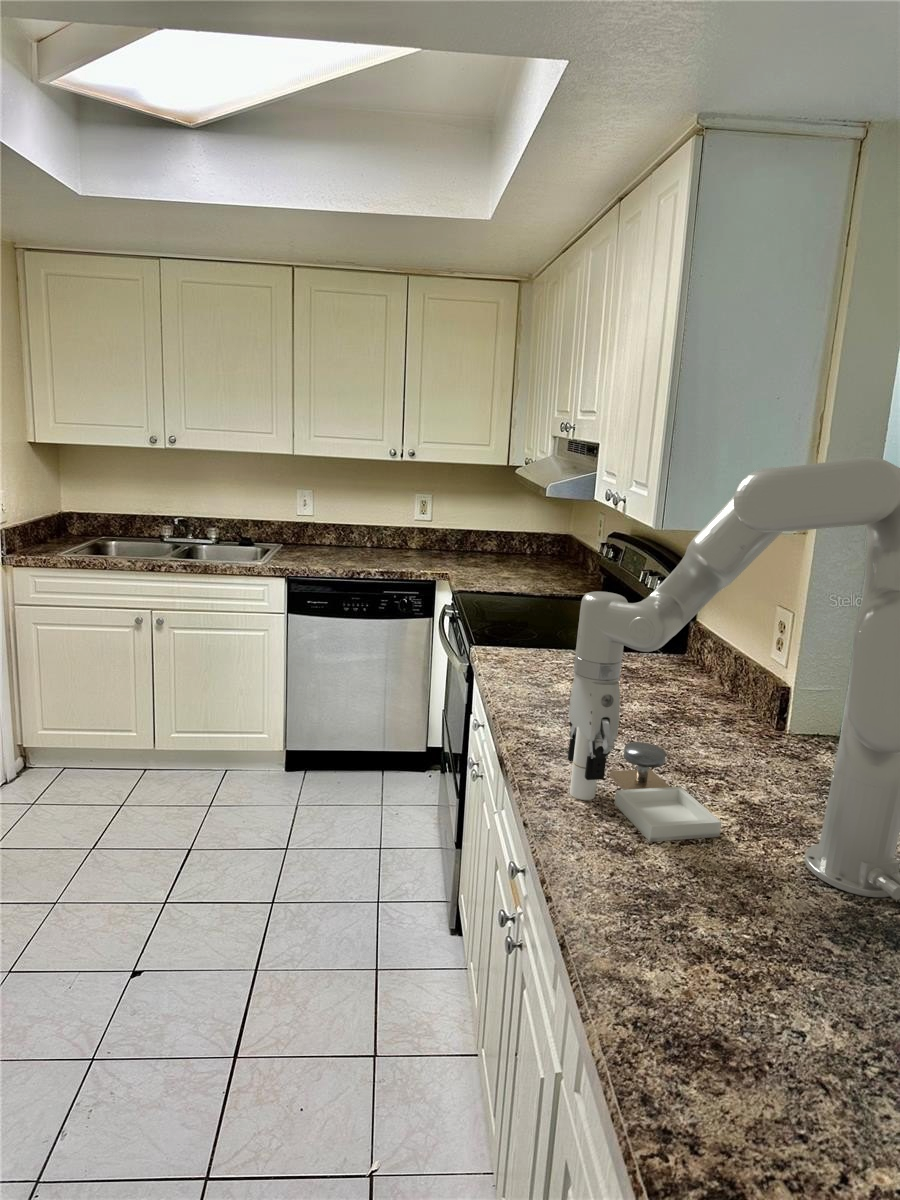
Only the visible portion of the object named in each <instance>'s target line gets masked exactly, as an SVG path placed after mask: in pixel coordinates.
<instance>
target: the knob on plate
mask: <svg viewBox="0 0 900 1200" xmlns="http://www.w3.org/2000/svg"><path fill="white" fill-rule="evenodd" d="M666 756H667V752H666V751H665V750H664V749H663V748H662V747H660V746H658V745H655V744H651V743H648V742H641V741H640V742H638V741H636V742H633V741H632V742H629V743H627V744H625V746H624V751H623V758H624V759H625V760H626V761H627V762H629V763H631V764H632V765H635V766H636V769H626V770H625V769H624V770H622V769H621V770H610V773H609V777H610V778H611V779H612V780H613V781H614V782H615V784H617V785H618V786H619V787H620V788H621V790H628V789H647V788H665V787H671V786H670V785H669V784H668V783H667V782H666V781H665V780H663V778H662V777H660V776H659V775H658V774H657V773H655V771H653V770H652V769H651V768H653V769H654V768H661V767H663V766H665V763H666V762H665V761H666V758H667V757H666Z"/></svg>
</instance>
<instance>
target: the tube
mask: <svg viewBox="0 0 900 1200" xmlns="http://www.w3.org/2000/svg"><path fill="white" fill-rule="evenodd" d="M595 738H602V735H595ZM599 746H602V744H601V742H595V750H596V749H597V748H598V747H599ZM587 756H590V751H589V739H587V738H586V737H585V736H584V735H583V734H582V733H581V732H580V729H579V727H577V732H576V740H575V749H574V758H573V761H572V770H571V779H570V785H569V786H570V787H569V795H570V796H572V797H573V798H575V799H577V800H582V801H591V800H593V799H595V798H596V791H597V783H598V780H587V779H586V778H585V771H586V762H587Z"/></svg>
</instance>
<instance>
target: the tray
mask: <svg viewBox="0 0 900 1200" xmlns="http://www.w3.org/2000/svg"><path fill="white" fill-rule="evenodd" d="M613 804H614V806H615V807H616V808H617V809H618V810H620V812H621V813H622V814H623V815H624V817H626V818H627V819H628V820H629V821H630V823H631V824H633V826H634V827H635V828H636V829H637V830H638V831H639V832H640V833H641V834H642V836H644V837H645V839H646V840H647V841H648V842H651V843H653V842H667V841H679V840H695V839H707V838H720V834H721V828H722V821H721V820H720V819H719V818H718V817H716V816H715V815H714V814H713V813H712V812H711V811H709V809H707V808H706V807H705V806H704V805H702V804H701V803H700V802H699V801H698V800H697V799H695V797H693V795H691V794H690V793H689V792H687V791H686V789H684V788H683V787H682V786H670V787H665V788H647V789H628V790H623V789H616V790H615V796H614V803H613Z"/></svg>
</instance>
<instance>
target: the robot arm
mask: <svg viewBox="0 0 900 1200" xmlns="http://www.w3.org/2000/svg"><path fill="white" fill-rule="evenodd" d="M857 526H864V528H865V530H866V534H867V547H866V555H865V556H866V559H865V574H864V582H863V590H862V598H861V603H860V606H859V609H858V612H857V614H856V618H855V619H856V620H855V625H854V633H853V644H852V653H851V654H852V655H851V665H850V674H849V675H850V676H849V685H848V689H847V695H846V700H845V705H844V706H845V708H844V713H843V719H842V725H841V730H840V731H841V732H840V736H839V742H838V746H837V752H836V757H835V762H834V765H833V773H832V776H831V782H830V788H829V791H828V798H827V801H826V802H827V803H826V808H825V812H824V819H823V823H822V828H821V833H820V837H819V838H820V839H819V843H816V844H813V845H811V846H809V847H807V849H806V850H805V854H804V863H805V865H806V867H807V868H808V870H809V871H810V872H812V874H814V875H815V876H816V878H818V879H820V880H821V881H823V882H824V883H827V884H829V885H830V886H832V887H834V888H836V889H839V890H842V891H845V892H847V893H850V894H854V895H858V896H862V897H869V898H887V897H890V898H892V899H894V900H899V899H900V872H899V870H900V869H899V868H900V860H897V859H896V858H895V855H896V851H897V850H896V849H897V846H898V845H897V844H898V841H899V837H900V467H899V466H897V465H895V464H894V463H892V462H889V461H887V460H885V459H883V458H880V457H877V456H871V455H870V456H868V455H867V456H859V457H853V458H845V459H839V460H833V461H832V460H831V461H824V462H818V463H810V464H800V465H793V466H781V467H780V466H779V467H778V466H777V467H764V468H760V469H757V470H755V471H752V472H750V473H749V474H747V475H746V476H745V477H744V478H743V479H742V480H741V481H740V482H739V484H738V486H737V487H736V490H735V492H734V495H733V496H732V497H731V498H730V499H729V500H728V501H727V502H726V503H725V504H724V506H723V507H722V508H721V509H720V510H719V511H718V512H717V513H716V515H714V517H712V518H711V519H710V520H709V522H708V523H706V525H705V526H703V528H702V529H700V530H699V531H698V532H697V533H696V535H695V536H694V537H693V538H692V540H691V541H690V542H689V543H688V545H687V547H686V551H685V553H684V556H683V557H682V559H681V560H680V561H679V563H678V564H677V565H676V567H675V568H674V569H673V570H672V571H671V572H670V574H668V575H667V577H666V578H665V579H664V580H663V581H662V582H661V583H660V584H659V585H658V586H657V587H656V588H655V589H654V590H653V591H652V592H651V593H650V594H649V595H648V596H647V597H646V598H643V599H642V600H641V601H638V602H628V600H627V598H626V597H625V596H623V595H621V594H618V593H614V592H610V591H609V592H608V591H590V592H587V593H585V594H584V595H583V597H582V599H581V602H580V609H579V616H578V617H579V621H578V628H577V636H576V644H575V645H576V647H575V653H574V663H573V672H572V675H574V676H573V681H572V687H571V693H570V697H569V698H570V699H569V705H568V720H569V725H570V729H569V733H568V734H569V745H568V752H567V753H568V754H567V760H568V761H569V762H573V758H574V749H575V740H576V732H577V727H579V729H580V732H581V733H582V734H583V735H584V736H585V737H586V738H587V739H589V751H590V756H587V762H586V771H585V778H586V779H587V780H597V781H598V780H603V779H604V778H605V773H606V765H607V763H606V762H607V759H608V758H609V754H610V753H611V752H612V751H613V749H615V742H614V741H616V740H617V739H618V733H619V732H618V731H619V724H620V723H619V722H620V709H621V708H620V706H621V705H620V704H621V701H620V700H621V695H620V693H621V691H620V689H621V688H620V683H619V681H620V678H621V672H622V671H621V669H622V662H623V654H624V646H625V647H627V648H630V649H632V650H635V651H639V652H644V653H645V652H646V653H647V652H653V651H658V650H659V649H662V647H664V646H665V645H666V644H667V643H668V642H669V641H670V640H672V638H673V637H675V636H676V635H677V634H678V633H679V632H680V631H681V630H682V629H683V628H684V627H685V626H686V625H687V624H688V623H689V622H690V621H691V620H692V619H693V618H694V617H695V616H696V615H698V613H699V612H700V611H701V610H702V609H703V608H704V607H705V606H706V605H707V604H708V603H709V602H710V601H711V600H712V599H714V597H715V596H716V595H718V594H719V592H721V591H722V590H723V589H725V588H727V587H728V586H729V585H731V584H732V583H733V582H734V581H735V580H736V579H737V578H738V577H739V576H741V574H742V573H744V571H745V570H746V569H747V568H748V567H749V566H750V565H751V564H753V562H754V561H755V559H757V558H758V557H759V556H760V555H761V554H762V553H763V552H764V551H765V550H766V549H767V548H768V547H770V545H771V544H772V543H773V542H774V541H775V540H776V539H777V538H778V537H779V536H781V534H783V532H797V531H798V532H799V531H809V530H820V529H834V528H845V527H846V528H848V527H857ZM595 735H602V738H595ZM595 742H601V746H599V747H598V748H597V749H596V750H595Z"/></svg>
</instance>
